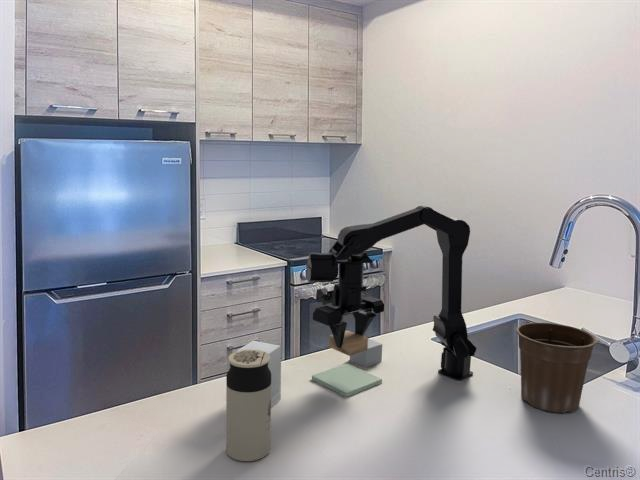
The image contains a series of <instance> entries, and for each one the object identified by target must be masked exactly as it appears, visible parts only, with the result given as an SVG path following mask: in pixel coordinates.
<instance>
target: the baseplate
mask: <svg viewBox="0 0 640 480" xmlns="http://www.w3.org/2000/svg"><path fill="white" fill-rule="evenodd" d="M311 380H313V381H314V382H317V383H318V384H320V385H322V386H324V387H326V388H328V389H330V390H332V391H334V392H336V393H338V394H340V395H341V396H344V397H345V398H348V397H350V396H353V395H355V394H357V393H360V392H362V391H364V390H368V389H370V388H372V387H376V386H377V385H381V384H382V383H383V378H382V377H378V376H376V375H374V374H373V373H370V372H367V371H366V370H364V369H361V368H358V367H356V366H354V365H352V364H349V363H343V364H342V365H338V366H335V367H331V368H329V369H326V370H322V371H320V372H317V373H315V374H311Z"/></svg>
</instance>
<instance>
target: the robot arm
mask: <svg viewBox="0 0 640 480" xmlns="http://www.w3.org/2000/svg"><path fill="white" fill-rule="evenodd" d="M424 225H425V226H426V227H428V228H430V229H432V230H433V231H435V232H436V239H437V243H438V246H439V248H440V251H441V253H442V254H441V255H442V260H441V261H442V262H441V263H442V265H441V266H442V272H441V273H442V275H441V279H442V281H441V285H442V286H441V310H440V312H439V314H438V315H433V318H432V320H433V327H432V331H433V332H434V333H435V334H434V335H435V336H436V338H437V339H438V340H439V341H440V344H441V346H443V349H442V352H441V358H440V369H438V373H439V374H441V375H444V376H446V377H449V378H452V379H454V380H457V381H461V380H463V379H466V378H468V377H470V376H473V375H474V372H473V371H472V370H471V360H472V357H474V356H475V354H476V351H477V347H476V345H474V344H473V343H472V342H471V341H470V340H469V339H468V338H469V335H468V329H467V324H466V321H465V318H464V315H463V313H462V302H463V301H462V295H463V292H462V291H463V256H464V253H465V251H466V250H467V248H468V246H469V241H470V235H471V227H470V225H469V224H468V223H467V222H466V221H465V220H462V219H459V218H455V217H452V216H446V215H444V214H442V213H440V212H438V211H436V210H435V209H433V208H432V207H430V206H425V205H418V206H417V207H415V208H413V209H409V210H406V211H404V212H401V213H399V214H396V215H393V216H391V217H387V218H385V219H382V220H378V221H376V222H373V223H366V224H356V225H355V224H354V225H351V226H345V227H343V228H342V229H341V230H340V231H339V233H338V234H337V240H336V241H335V242H334V244H333V245H332V247H331V248H330V249H329V250H328V252H325V253H324V252H322V253H321V252H320V253H319V252H309V253H308V258H307V261H306V262H307V263H306V265H305V267H306V268H305V272H306V273H305V274H306V280H307V283H332V282H334V280H337V278H338V283H335V284H334V285H333V290H328V289H327V288H326V287H323V288H319V289H316V293H315V300H316V302H317V303H322V306H320V307H315V308H314V309H313V311H312V321H315V322H317V323H319V324H323V325H325V326H327V327H329V329H330V332H331V335H332V334H333V337H334V340H335V343H336V346H337V347H338V348H341V346H342V343H343V339H344V334H345V331H346V329H347V325H348V322H345V321H344V316H347V315H350V314H351V315H353V318H354V333H356V334H359V335H361V336H364V335H365V333H366V331H367V329H368V328H369V326H370V325H371V323H372V322H373V320H374V319H375V318H376V317H377V314H380V313H384V312H385V304H384V302H383V300H382V299H380V298H376V297H374V296H373V297H372V296H370V295H368V296H364V297H363V292H366V291H367V286H366V285H364V284H363V283H364V266H365V265H364V264H372V263H373V259H372V258H370V257H369V255H368V253H367V251H368V250H369V249H371V248H372V247H374V246H375V245H376V244H377V243H378V242H380V241H382V240H384V239H385V240H386V239H388V238H390V237H392V236H396V235H398V234H401V233H404V232H407V231H410V230H412V229H414V228H418V227H420V226H424ZM328 304H331V306H333V307H331V306H328ZM335 307H337V308H335Z"/></svg>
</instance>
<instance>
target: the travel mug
mask: <svg viewBox="0 0 640 480" xmlns="http://www.w3.org/2000/svg"><path fill="white" fill-rule="evenodd" d="M236 351H237V350H236ZM236 351H234V352H232V353H230V354H229V355H228V357H227V362H228V363H229V367H230V368H229V369H228V370H227V373H226V380H225V381H226V384H225V385H226V394H225V395H226V400H225V401H226V403H225V404H226V407H225V408H226V410H225V411H226V412H225V413H226V416H225V417H226V420H225V422H226V425H225V426H226V428H225V430H226V432H225V433H226V435H225V436H226V439H225V440H226V441H225V443H226V449H225V450H226V453H227V455H228V456H229V458H230V459H231V458H232V459H234V460H237V461H240V462H252V461H253V462H254V461H258V460H260V459H262V458H264V457H266V456H267V455H268V454H269V453H270V451H271V435H272V434H271V432H272V431H271V430H272V429H271V427H272V425H271V423H272V418H271V417H272V407H271V371H270V370H269V368H268V362H269V361H270V355H269V354H268V353H266V352H264V351H260V350H240V351H237V352H236Z"/></svg>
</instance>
